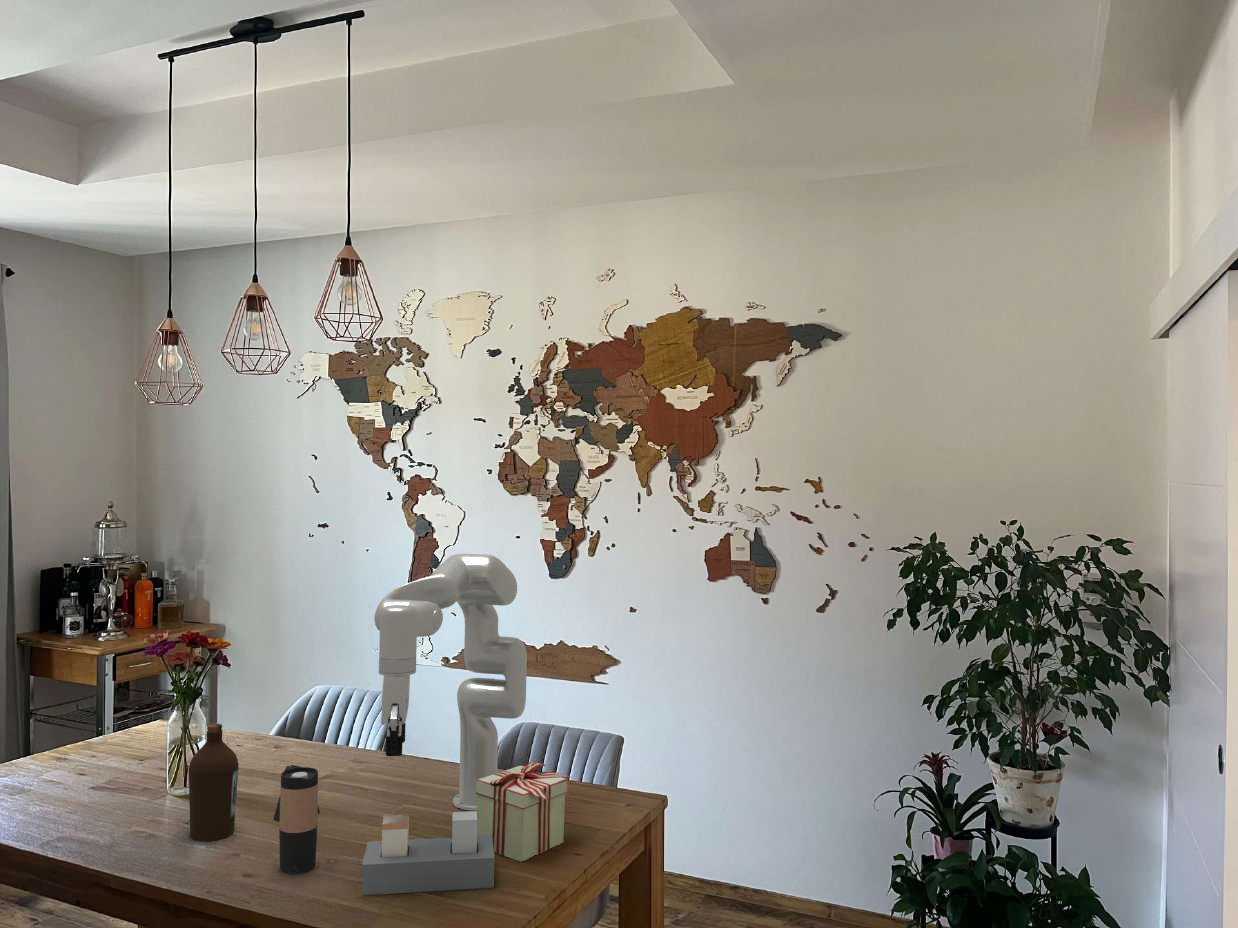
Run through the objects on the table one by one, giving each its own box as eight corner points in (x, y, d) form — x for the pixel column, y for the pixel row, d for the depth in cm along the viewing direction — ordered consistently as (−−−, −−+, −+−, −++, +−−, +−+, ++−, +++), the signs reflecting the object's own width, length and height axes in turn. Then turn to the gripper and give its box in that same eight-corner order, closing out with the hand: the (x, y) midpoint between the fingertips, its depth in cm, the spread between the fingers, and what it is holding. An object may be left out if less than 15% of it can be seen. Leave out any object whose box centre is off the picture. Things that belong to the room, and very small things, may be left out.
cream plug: (407, 871, 196) (409, 813, 196) (406, 882, 191) (407, 822, 191) (382, 873, 195) (383, 814, 195) (380, 883, 190) (382, 823, 190)
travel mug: (284, 860, 202) (286, 766, 203) (320, 859, 203) (322, 766, 203) (274, 875, 195) (276, 778, 195) (311, 874, 195) (313, 777, 196)
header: (491, 863, 202) (492, 804, 203) (493, 887, 191) (495, 824, 191) (367, 870, 198) (368, 809, 198) (361, 895, 186) (362, 831, 186)
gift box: (536, 867, 201) (537, 786, 201) (470, 848, 210) (471, 771, 211) (581, 842, 215) (582, 766, 215) (517, 825, 225) (518, 753, 225)
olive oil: (187, 845, 209) (190, 733, 210) (186, 829, 219) (188, 721, 219) (238, 838, 214) (241, 728, 215) (235, 822, 224) (237, 717, 224)
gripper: (382, 658, 202) (380, 738, 202) (375, 674, 185) (373, 761, 185) (418, 657, 203) (416, 737, 203) (413, 673, 186) (412, 760, 186)
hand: (395, 748), depth 194 cm, fingers open, 9 cm apart
